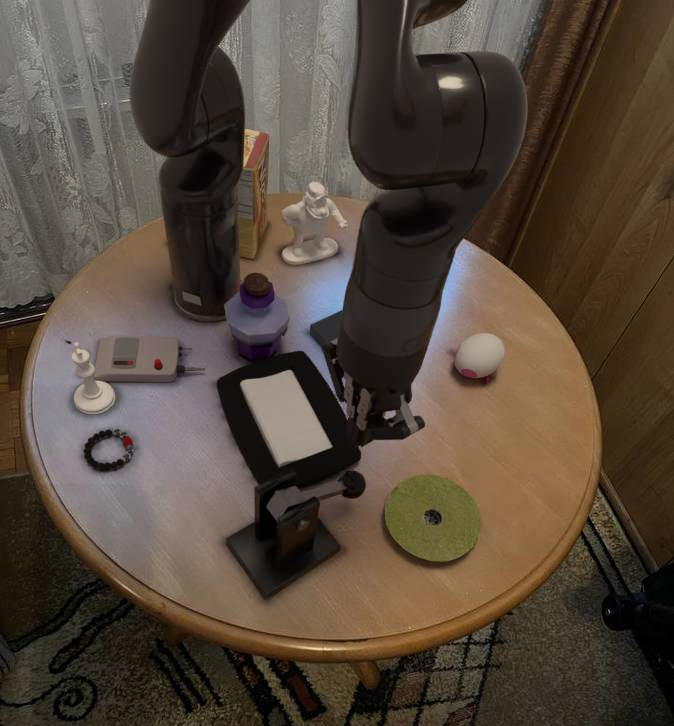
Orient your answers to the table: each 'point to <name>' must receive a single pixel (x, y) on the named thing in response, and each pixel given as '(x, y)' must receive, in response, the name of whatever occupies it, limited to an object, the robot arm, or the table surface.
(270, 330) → the potion bottle
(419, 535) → the mat
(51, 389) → the table surface
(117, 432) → the bracelet
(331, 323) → the control box
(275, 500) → the switch lever
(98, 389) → the chess piece
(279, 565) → the switch bracket
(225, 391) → the light switch
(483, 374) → the stress ball
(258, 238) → the candy box
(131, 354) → the grey electronic device
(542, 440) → the table surface
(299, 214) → the figurine
